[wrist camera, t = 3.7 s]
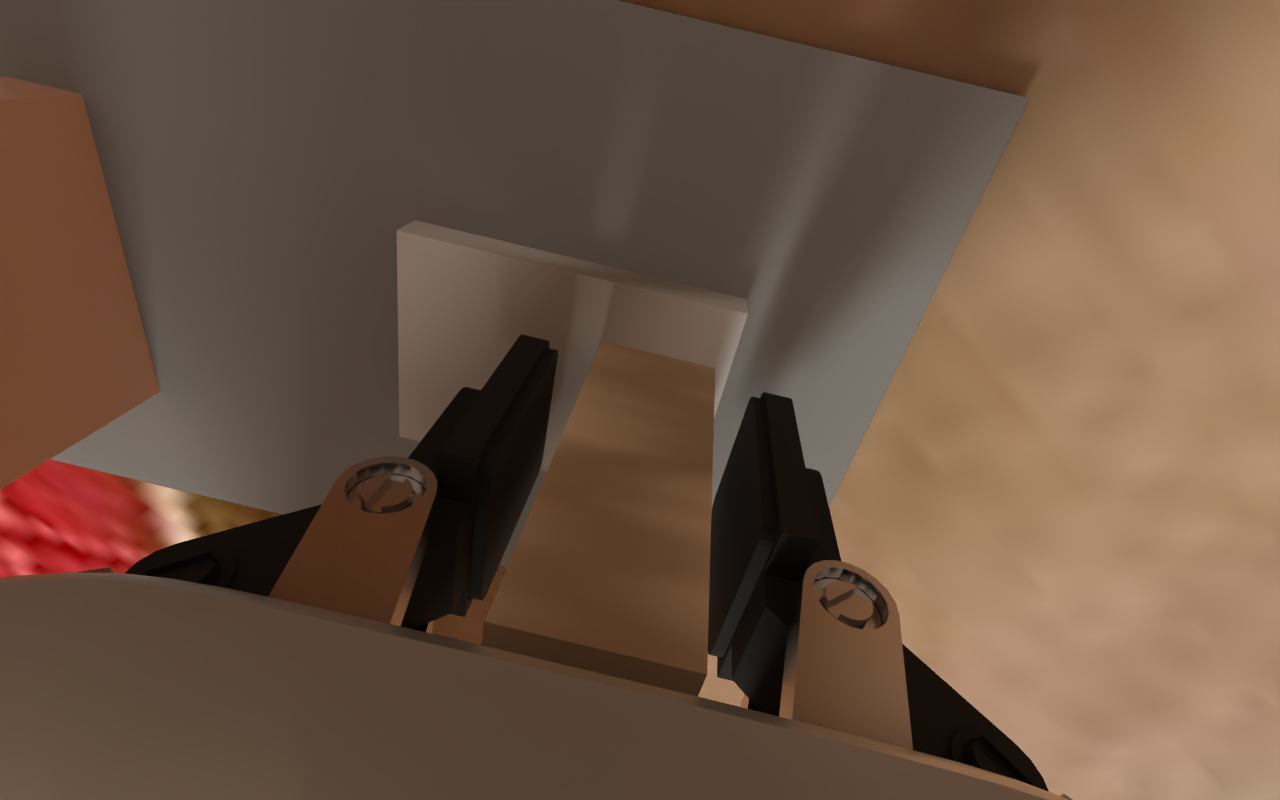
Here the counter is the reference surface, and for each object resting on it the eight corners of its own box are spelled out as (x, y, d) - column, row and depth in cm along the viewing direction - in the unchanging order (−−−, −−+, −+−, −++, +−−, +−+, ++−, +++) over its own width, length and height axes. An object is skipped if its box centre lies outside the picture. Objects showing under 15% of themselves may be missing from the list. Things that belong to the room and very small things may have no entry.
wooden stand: (746, 298, 12) (773, 598, 6) (688, 483, 15) (659, 839, 8) (415, 220, 12) (46, 426, 6) (414, 418, 15) (161, 721, 8)
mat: (1022, 97, 10) (1029, 98, 10) (767, 621, 17) (768, 630, 17) (-578, -284, 10) (-612, -293, 10) (-165, 400, 17) (-178, 405, 17)
